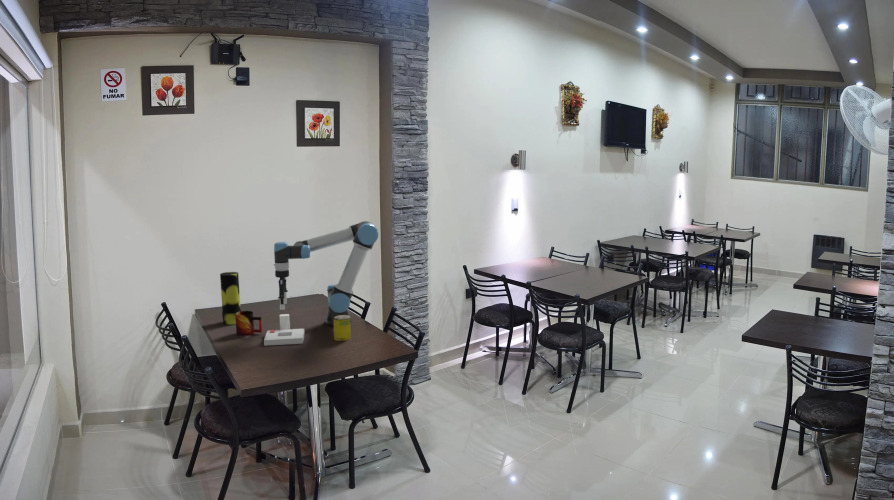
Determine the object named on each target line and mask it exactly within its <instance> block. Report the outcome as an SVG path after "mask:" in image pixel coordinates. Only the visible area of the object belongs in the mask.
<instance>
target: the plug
mask: <svg viewBox="0 0 894 500" xmlns="http://www.w3.org/2000/svg"><path fill="white" fill-rule="evenodd" d="M290 324H291V323H290V314H289V313H285V314H283V313H282V314H279V330H286V329H291V325H290Z"/></svg>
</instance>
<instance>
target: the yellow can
mask: <svg viewBox="0 0 894 500" xmlns="http://www.w3.org/2000/svg"><path fill="white" fill-rule="evenodd" d="M350 316H351V315H350ZM350 316H348V315H338V316H335V317H333V319H334V325H333V339H334V341H338V342H345V341H349V340H351V338H352V337H351V322H350Z"/></svg>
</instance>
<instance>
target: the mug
mask: <svg viewBox="0 0 894 500" xmlns="http://www.w3.org/2000/svg"><path fill="white" fill-rule="evenodd" d="M235 318H236V324H235V329H236V330H235V332H236V333H235V334H236V336H239V337H248V336H252V335H254V334H255V333H259V334H260V333H263V324H262V316H254V311H252V310H241V311H240V312H237V313H235ZM254 321H258V324H259V325H258V327H259V328H258V329H257V328H256V329H255V322H254Z"/></svg>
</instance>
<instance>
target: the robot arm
mask: <svg viewBox="0 0 894 500" xmlns="http://www.w3.org/2000/svg"><path fill="white" fill-rule="evenodd" d="M378 238H379V230H378V228H377V226H376V225H374V223H372V222H371V221H365V220H363V221H360V222H359V223H356V224H355V223H354V224H352V225H349V226H348V228H345V229H340V230H338V231H334V232H329V233H326V234H323V235H319V236H316V237H312V238H310V239H305V240H298V241H296V242H295V243H294V244H293V245H289V243H288V242H287V241H277V242H275V243H274V245H273V253H274V255H273V256H274V264H273V266H274V269H275V270H274V275H275V278H279V279H278V290H279V291H278V300H279V311H282V310H284V311H285V310H286V305H287V304H288V302H287V301H288V300H287V298H288V297H287V293H288V290H289V289H288V288H287V278H288V277H289V276H290V270H289V269H290V264H289V263H290V261H289V260H295V259H299V260H301V259H303V260H305V259H309V258H311V253H312V252H315V251H320V250H323V249H326V248H330V247H335V246H337V245H341V244H344V243H348V242H352V243H353V247H352V249H351V252H350V255H349V257H348V259H347V262H346V263H345V266H344V268H343V271H342V274H341V276H340V279H339V280H338V282H337V283H336V284H330V285H327V286H326V287H327V289H326V291H327V313H326V317H325V324H326V325H330V326H334V319H333V317H335V316H338V315H348V316H350V323H351V322H352V316H351V314H350V311H349V307H350V305H351V299H352V297H353V295H354V291H353V290H354V289H353V288H354V286H355V283H356V280H357V278H358V276H359V273H360V271H361V268H362V266H363V264H364V262H365V260H366V256H367V254H368V253H369V251H372V249H373V247H374V245H375V243H376V242H377V240H378ZM287 289H288V290H287Z"/></svg>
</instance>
